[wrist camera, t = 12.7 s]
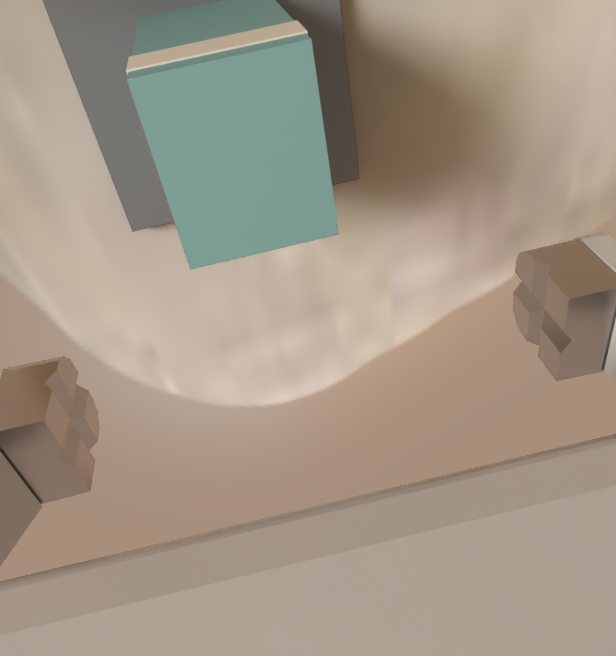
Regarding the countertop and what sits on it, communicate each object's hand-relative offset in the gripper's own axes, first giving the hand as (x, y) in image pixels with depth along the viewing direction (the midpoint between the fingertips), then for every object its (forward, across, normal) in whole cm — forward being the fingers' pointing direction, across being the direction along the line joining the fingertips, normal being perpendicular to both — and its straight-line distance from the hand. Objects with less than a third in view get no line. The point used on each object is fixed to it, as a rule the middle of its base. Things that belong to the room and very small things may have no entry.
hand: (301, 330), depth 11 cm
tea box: (+18, +1, 0) cm, 18 cm away
